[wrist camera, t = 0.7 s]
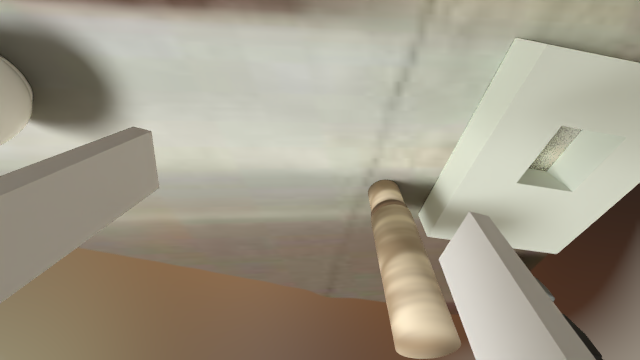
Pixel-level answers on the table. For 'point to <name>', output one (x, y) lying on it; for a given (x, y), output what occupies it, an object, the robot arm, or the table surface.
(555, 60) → the board
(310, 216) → the table surface
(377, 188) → the beech leg
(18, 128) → the lidded jar
